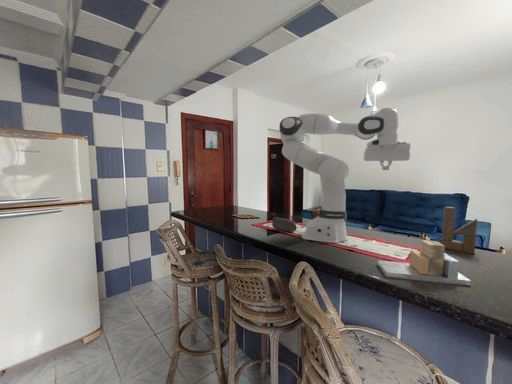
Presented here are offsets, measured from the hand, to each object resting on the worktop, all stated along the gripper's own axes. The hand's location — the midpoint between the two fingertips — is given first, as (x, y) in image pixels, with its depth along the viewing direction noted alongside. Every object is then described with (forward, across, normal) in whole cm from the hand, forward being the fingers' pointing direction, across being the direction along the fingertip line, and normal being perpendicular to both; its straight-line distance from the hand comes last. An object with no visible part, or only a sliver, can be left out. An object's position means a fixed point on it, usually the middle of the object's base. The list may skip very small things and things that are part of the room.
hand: (385, 170), depth 115 cm
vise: (+34, +1, +46) cm, 57 cm away
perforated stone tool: (+34, +50, +2) cm, 61 cm away
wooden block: (+34, -25, +15) cm, 45 cm away
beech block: (+32, -2, +46) cm, 56 cm away
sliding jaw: (+32, +1, +46) cm, 56 cm away
